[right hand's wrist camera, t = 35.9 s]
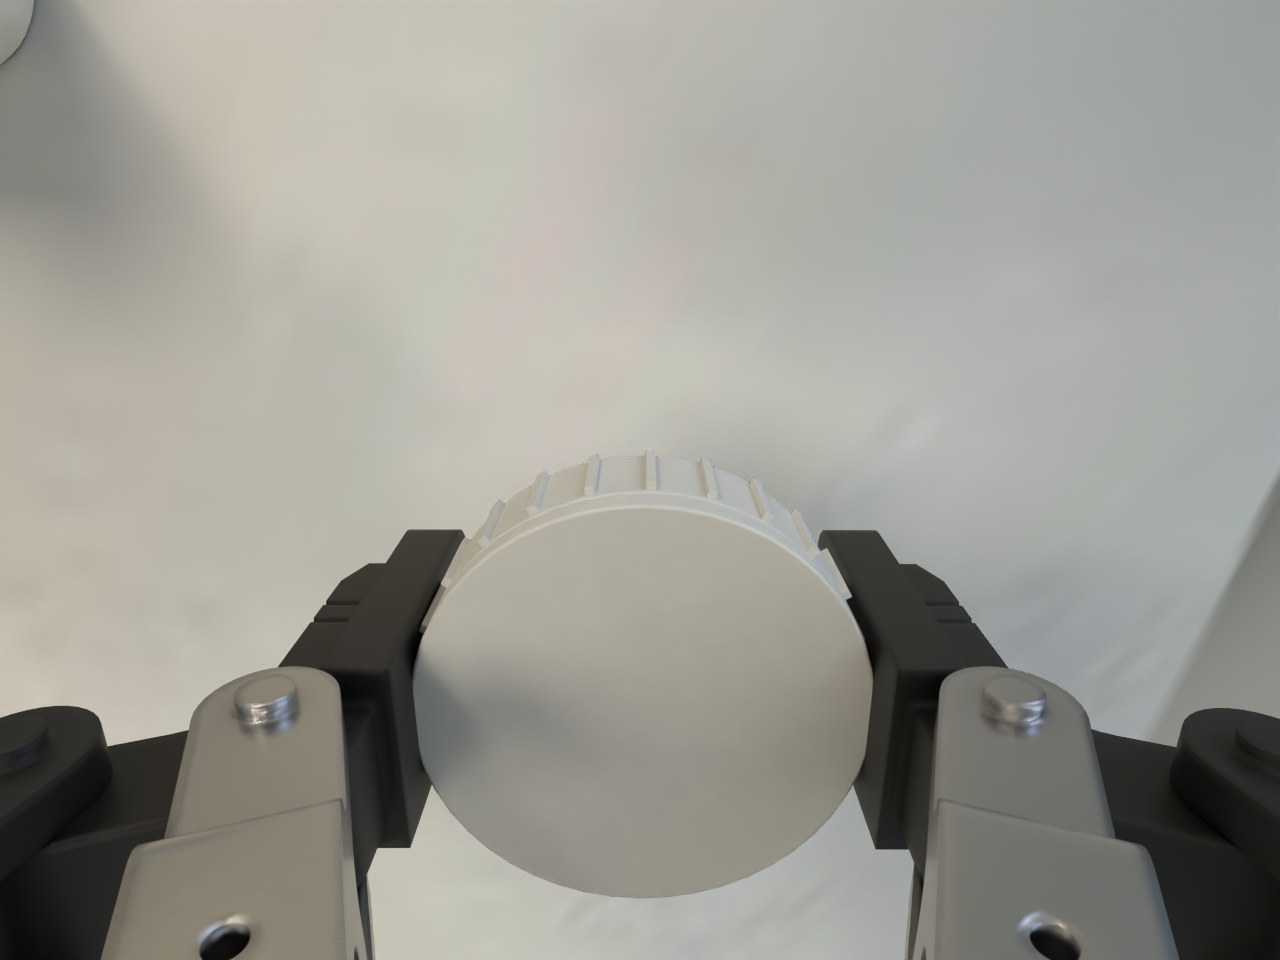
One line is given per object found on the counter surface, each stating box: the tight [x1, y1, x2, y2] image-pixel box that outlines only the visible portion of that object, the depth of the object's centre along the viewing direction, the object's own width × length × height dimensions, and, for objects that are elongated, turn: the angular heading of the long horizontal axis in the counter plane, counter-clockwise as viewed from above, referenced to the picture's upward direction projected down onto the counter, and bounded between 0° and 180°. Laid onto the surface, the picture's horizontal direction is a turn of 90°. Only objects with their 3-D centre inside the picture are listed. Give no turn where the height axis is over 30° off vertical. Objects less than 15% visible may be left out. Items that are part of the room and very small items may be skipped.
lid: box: [412, 450, 873, 898], centre depth 10 cm, size 5×5×2 cm
